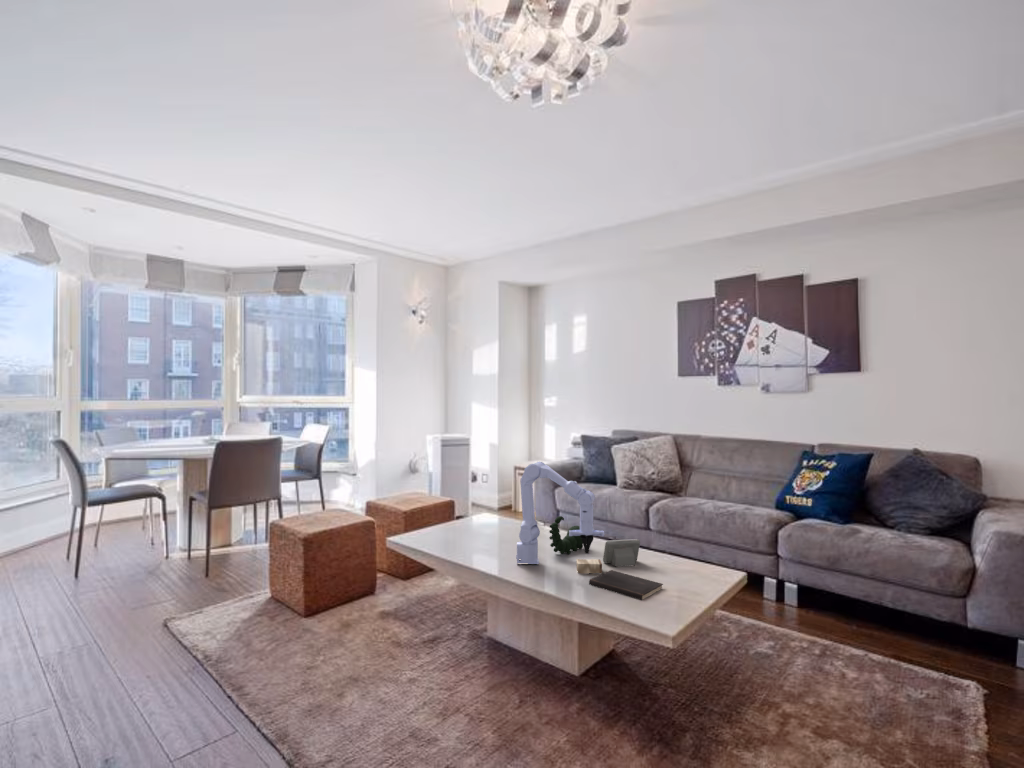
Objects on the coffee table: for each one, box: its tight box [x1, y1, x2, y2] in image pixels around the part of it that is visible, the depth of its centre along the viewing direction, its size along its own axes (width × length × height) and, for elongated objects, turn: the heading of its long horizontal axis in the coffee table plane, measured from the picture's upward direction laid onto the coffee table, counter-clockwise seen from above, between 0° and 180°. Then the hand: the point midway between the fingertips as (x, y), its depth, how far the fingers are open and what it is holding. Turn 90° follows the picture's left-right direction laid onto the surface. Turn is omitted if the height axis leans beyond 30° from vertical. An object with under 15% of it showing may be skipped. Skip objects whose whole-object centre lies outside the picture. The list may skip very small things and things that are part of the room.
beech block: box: [576, 558, 603, 574], centre depth 217 cm, size 4×6×10 cm
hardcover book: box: [588, 569, 664, 601], centre depth 199 cm, size 16×23×2 cm
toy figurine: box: [548, 515, 587, 555], centre depth 244 cm, size 9×19×25 cm
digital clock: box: [602, 538, 641, 567], centre depth 226 cm, size 16×9×11 cm, turn 90°
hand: (586, 553), depth 217 cm, fingers closed
